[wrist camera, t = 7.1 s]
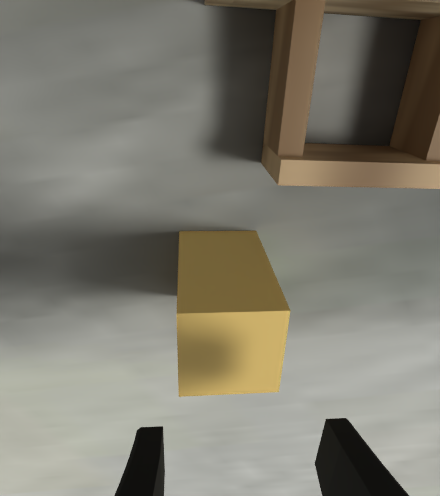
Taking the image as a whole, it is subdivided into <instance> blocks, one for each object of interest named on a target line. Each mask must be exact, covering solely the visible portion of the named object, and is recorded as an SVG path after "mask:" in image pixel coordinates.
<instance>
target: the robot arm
mask: <svg viewBox="0 0 440 496" xmlns="http://www.w3.org/2000/svg"><path fill="white" fill-rule="evenodd" d="M315 466H316V470H317V475H318V479H319V484H320V488H321V492H322V496H409V495H408V494H407V493H406V491H405V490H404V489H403V488H402V487H401V486H400V484H399V483H398V482H397V481H396V480H395V478H394V477H393V476H392V475H391V474H390V472H389V471H388V470H387V469H386V468H385V466H384V465H383V464H382V463H381V461H380V460H379V459H378V458H377V456H376V455H375V454H374V453H373V451H372V450H371V449H370V448H369V446H368V445H367V444H366V442H365V441H364V440H363V439H362V437H361V436H360V435H359V433H358V432H357V431H356V430H355V428H354V427H353V426H352V424H351V423H350V422H349V421H348V420H347V419H346V418H339V419H326V421H325V425H324V429H323V433H322V437H321V441H320V445H319V449H318V453H317V457H316V461H315ZM164 476H165V468H164V443H163V426H162V427H141V428H140V429H138V430H137V433H136V437H135V441H134V444H133V447H132V450H131V454H130V457H129V460H128V462H127V465H126V468H125V471H124V473H123V476H122V478H121V481H120V484H119V486H118V488H117V491H116V493H115V496H164Z"/></svg>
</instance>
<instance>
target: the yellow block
mask: <svg viewBox="0 0 440 496" xmlns="http://www.w3.org/2000/svg"><path fill="white" fill-rule="evenodd" d="M289 317H290V309H289V306H288V304H287V302H286V299H285V297H284V295H283V292H282V290H281V288H280V285H279V283H278V281H277V278H276V276H275V274H274V271H273V269H272V267H271V264H270V262H269V260H268V257H267V255H266V253H265V250H264V248H263V246H262V243H261V241H260V239H259V236H258V234H257V232H256V231H179V258H178V289H177V345H178V383H179V397H181V396H202V395H224V394H245V393H267V392H279V386H280V379H281V372H282V365H283V358H284V352H285V345H286V338H287V331H288V324H289Z"/></svg>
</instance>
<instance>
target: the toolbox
mask: <svg viewBox="0 0 440 496" xmlns="http://www.w3.org/2000/svg"><path fill="white" fill-rule="evenodd" d="M204 5H213V6H227V7H241V8H256V9H270V10H276V18H275V28H274V38H273V48H272V58H271V68H270V79H269V89H268V99H267V109H266V119H265V129H264V140H263V150H262V160H261V163H262V165H263V166H264V167H265V169H266V170H267V171H268V173H269V174H270V175H271V177H272V178H273V179H274V180H275V182H276V183H277V184H278V185H289V186H334V187H380V188H426V189H440V2H439V1H425V0H205V4H204ZM324 13H328V14H343V15H357V16H371V17H386V18H400V19H415V20H421V22H420V26H419V30H418V34H417V38H416V42H415V46H414V50H413V54H412V58H411V62H410V66H409V70H408V74H407V78H406V82H405V86H404V90H403V94H402V98H401V102H400V106H399V110H398V114H397V118H396V122H395V126H394V130H393V134H392V138H391V142H390V146H377V145H347V144H317V143H305V136H306V129H307V123H308V116H309V109H310V102H311V95H312V89H313V82H314V75H315V68H316V62H317V55H318V48H319V41H320V35H321V28H322V21H323V14H324Z"/></svg>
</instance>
